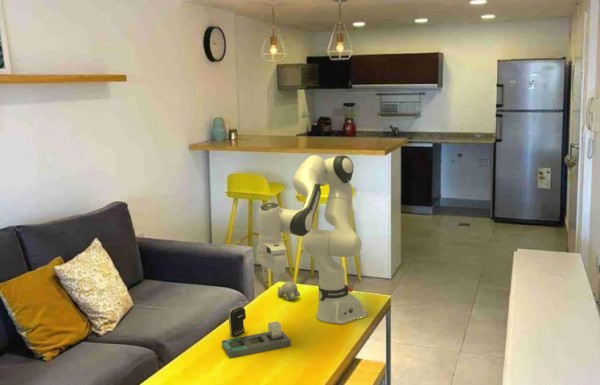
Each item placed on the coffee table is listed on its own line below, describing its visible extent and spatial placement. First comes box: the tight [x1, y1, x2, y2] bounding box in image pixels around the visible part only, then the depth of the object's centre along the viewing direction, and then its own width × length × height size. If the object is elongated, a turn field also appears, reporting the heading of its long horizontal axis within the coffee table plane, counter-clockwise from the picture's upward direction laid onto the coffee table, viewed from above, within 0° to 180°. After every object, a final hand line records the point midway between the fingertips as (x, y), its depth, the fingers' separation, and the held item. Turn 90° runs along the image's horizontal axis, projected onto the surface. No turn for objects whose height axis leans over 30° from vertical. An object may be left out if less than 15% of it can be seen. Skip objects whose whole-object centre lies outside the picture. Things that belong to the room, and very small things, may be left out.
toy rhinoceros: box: [276, 280, 301, 301], centre depth 287 cm, size 7×12×8 cm, turn 51°
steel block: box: [267, 320, 282, 341], centre depth 239 cm, size 4×4×8 cm
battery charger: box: [228, 305, 247, 337], centre depth 248 cm, size 7×4×11 cm, turn 140°
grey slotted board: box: [221, 329, 292, 359], centre depth 237 cm, size 25×11×3 cm, turn 112°
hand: (270, 278), depth 237 cm, fingers open, 8 cm apart
